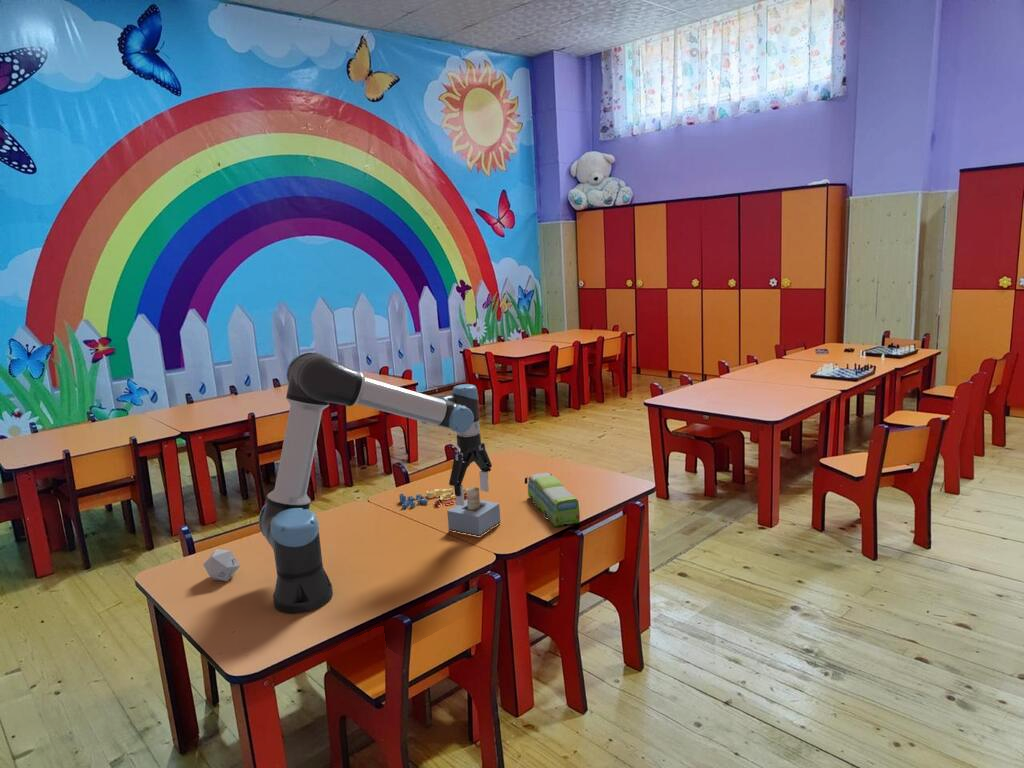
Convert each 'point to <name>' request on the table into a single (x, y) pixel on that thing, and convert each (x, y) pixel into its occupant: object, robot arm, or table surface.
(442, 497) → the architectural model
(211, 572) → the die
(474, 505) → the peg
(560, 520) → the toy bus
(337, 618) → the table surface
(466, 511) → the socket block
